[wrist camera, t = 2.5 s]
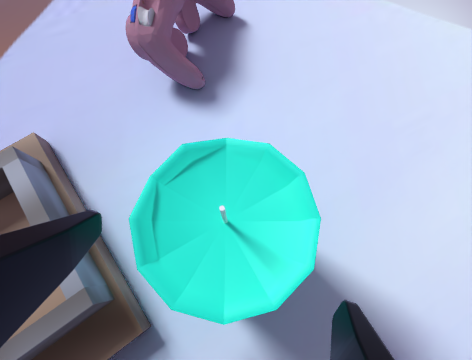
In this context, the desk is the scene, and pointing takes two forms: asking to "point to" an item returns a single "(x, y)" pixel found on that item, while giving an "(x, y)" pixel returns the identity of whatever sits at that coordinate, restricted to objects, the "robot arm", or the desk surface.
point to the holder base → (79, 280)
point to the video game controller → (170, 34)
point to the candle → (225, 229)
